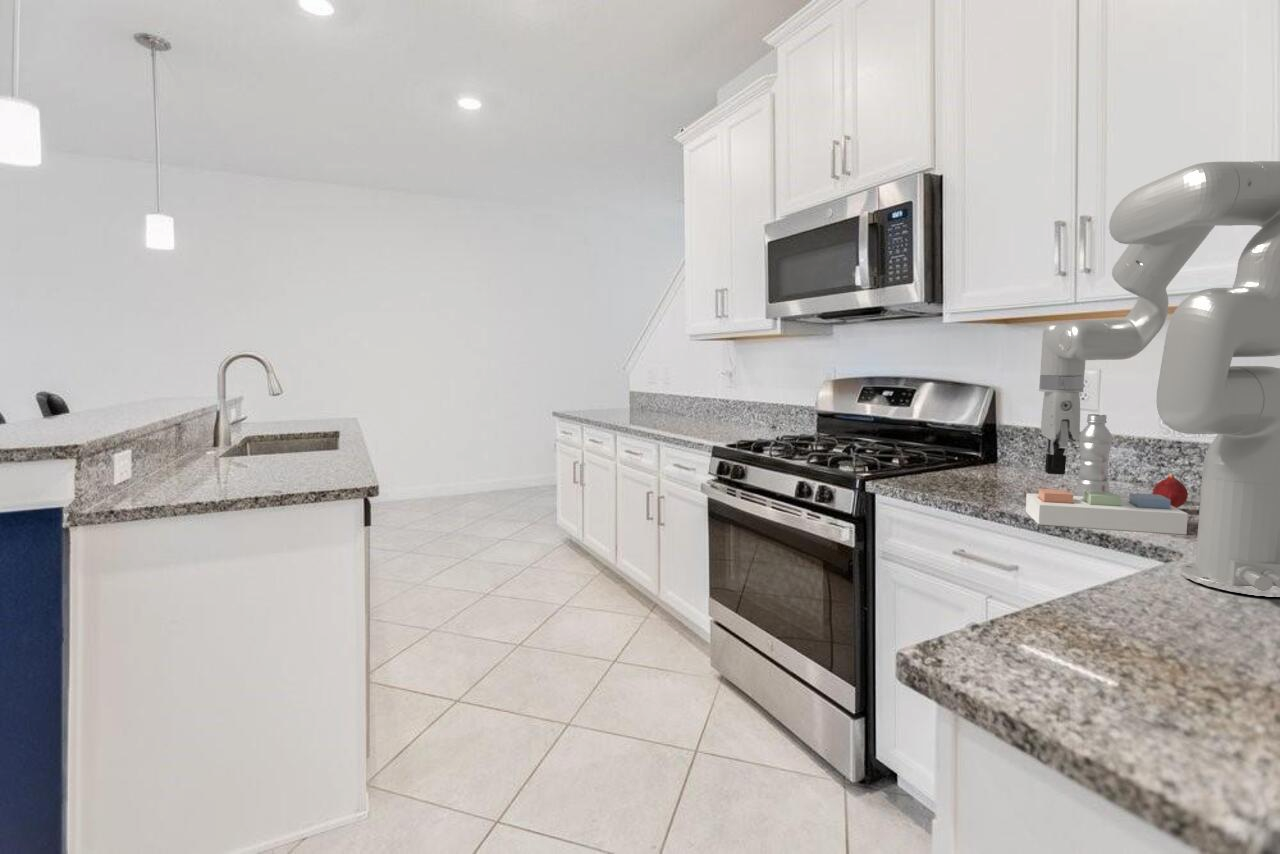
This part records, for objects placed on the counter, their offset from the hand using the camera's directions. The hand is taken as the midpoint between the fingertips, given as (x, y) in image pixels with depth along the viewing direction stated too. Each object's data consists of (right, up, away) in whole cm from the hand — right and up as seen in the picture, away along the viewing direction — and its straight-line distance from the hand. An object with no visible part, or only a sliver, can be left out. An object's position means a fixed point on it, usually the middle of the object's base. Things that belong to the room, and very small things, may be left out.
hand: (1054, 473), depth 132 cm
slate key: (+15, -7, -5) cm, 18 cm away
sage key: (+8, -7, -3) cm, 11 cm away
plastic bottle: (+21, -8, +18) cm, 29 cm away
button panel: (+8, -10, -2) cm, 13 cm away
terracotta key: (0, -7, 0) cm, 7 cm away
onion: (+29, -9, +7) cm, 31 cm away
